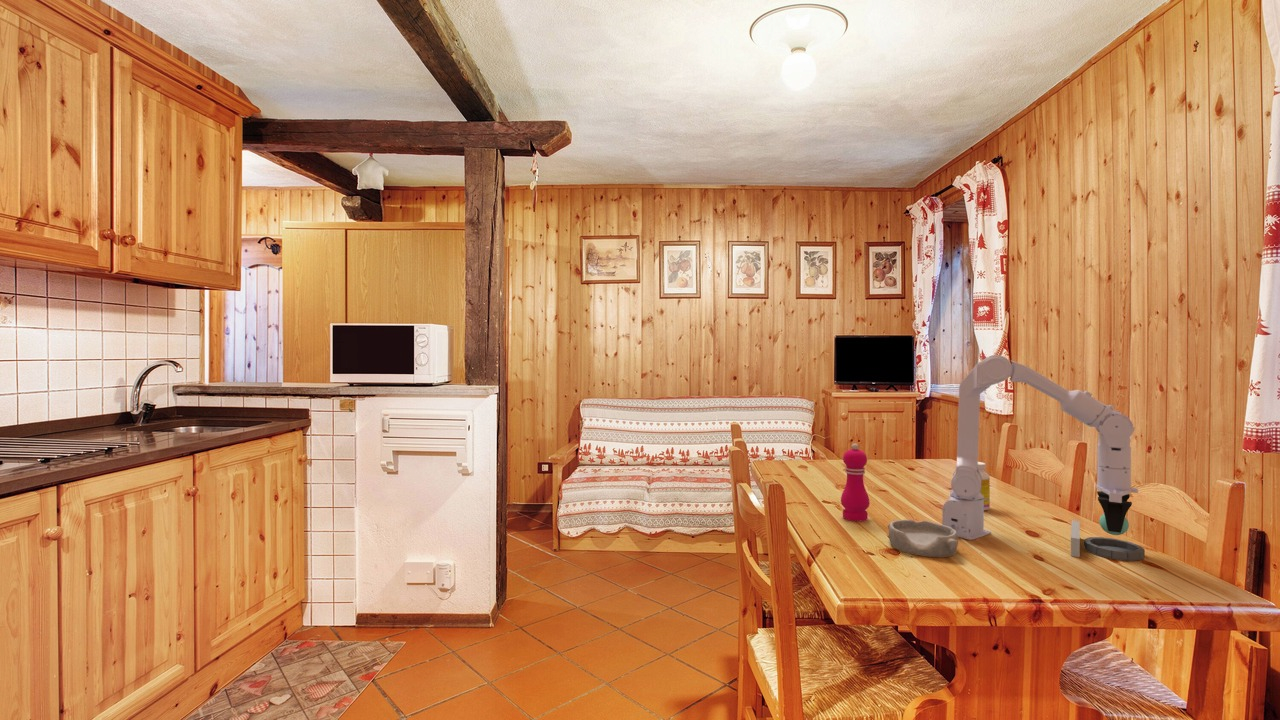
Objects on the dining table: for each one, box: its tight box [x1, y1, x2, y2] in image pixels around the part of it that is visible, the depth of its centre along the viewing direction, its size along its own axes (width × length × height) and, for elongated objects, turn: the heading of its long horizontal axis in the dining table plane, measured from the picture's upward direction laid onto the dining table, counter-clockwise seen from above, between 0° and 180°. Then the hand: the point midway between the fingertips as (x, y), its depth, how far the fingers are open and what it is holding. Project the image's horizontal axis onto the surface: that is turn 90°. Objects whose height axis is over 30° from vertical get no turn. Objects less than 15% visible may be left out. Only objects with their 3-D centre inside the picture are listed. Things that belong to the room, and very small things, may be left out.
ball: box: [1099, 513, 1130, 536], centre depth 126 cm, size 5×5×5 cm
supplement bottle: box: [978, 461, 991, 511], centre depth 162 cm, size 7×7×13 cm
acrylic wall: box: [1070, 519, 1081, 558], centre depth 131 cm, size 16×2×4 cm, turn 143°
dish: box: [887, 519, 959, 558], centre depth 131 cm, size 14×14×5 cm
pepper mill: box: [840, 443, 870, 522], centre depth 154 cm, size 7×7×20 cm
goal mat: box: [1083, 536, 1146, 562], centre depth 126 cm, size 10×10×2 cm
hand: (1113, 528), depth 126 cm, fingers closed on ball, 5 cm apart
